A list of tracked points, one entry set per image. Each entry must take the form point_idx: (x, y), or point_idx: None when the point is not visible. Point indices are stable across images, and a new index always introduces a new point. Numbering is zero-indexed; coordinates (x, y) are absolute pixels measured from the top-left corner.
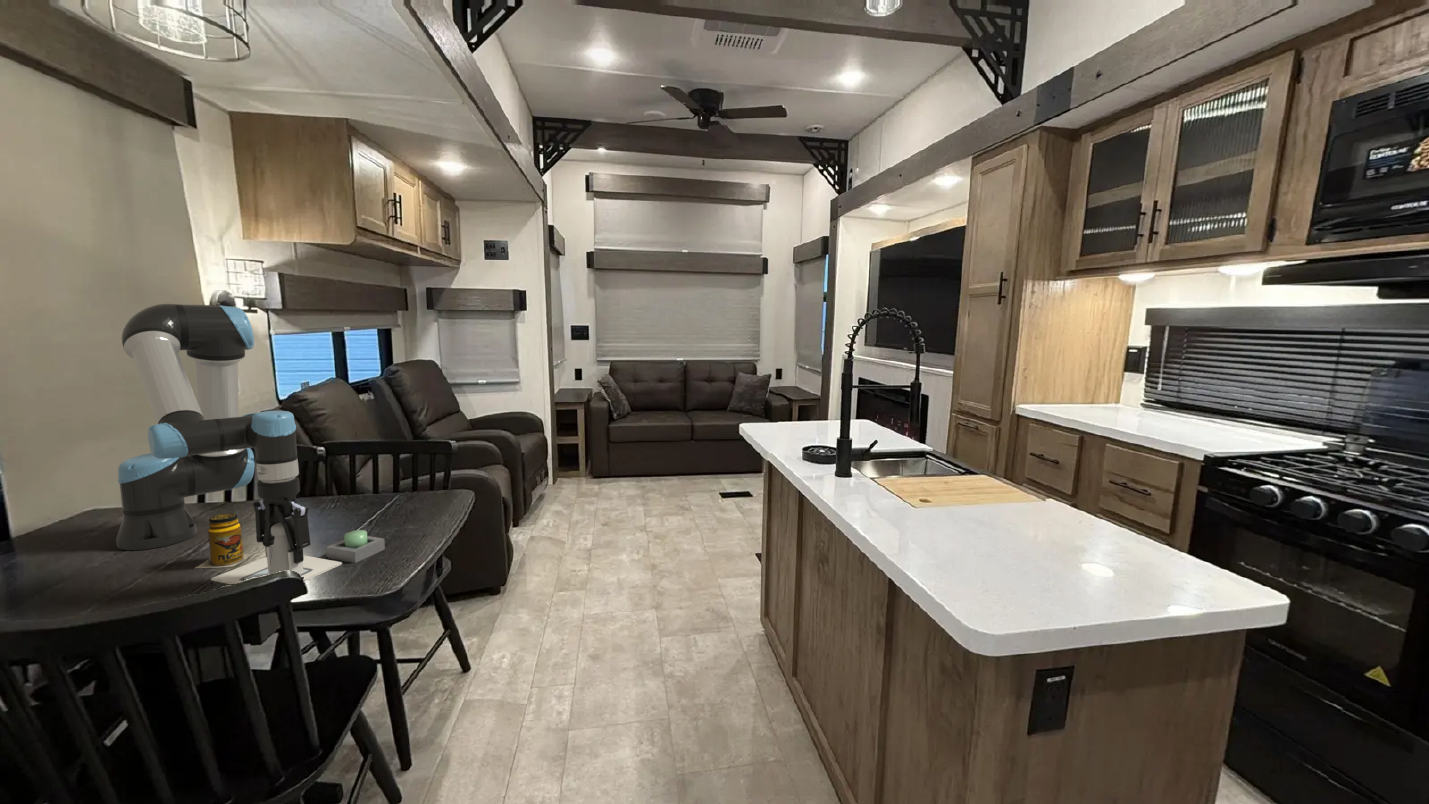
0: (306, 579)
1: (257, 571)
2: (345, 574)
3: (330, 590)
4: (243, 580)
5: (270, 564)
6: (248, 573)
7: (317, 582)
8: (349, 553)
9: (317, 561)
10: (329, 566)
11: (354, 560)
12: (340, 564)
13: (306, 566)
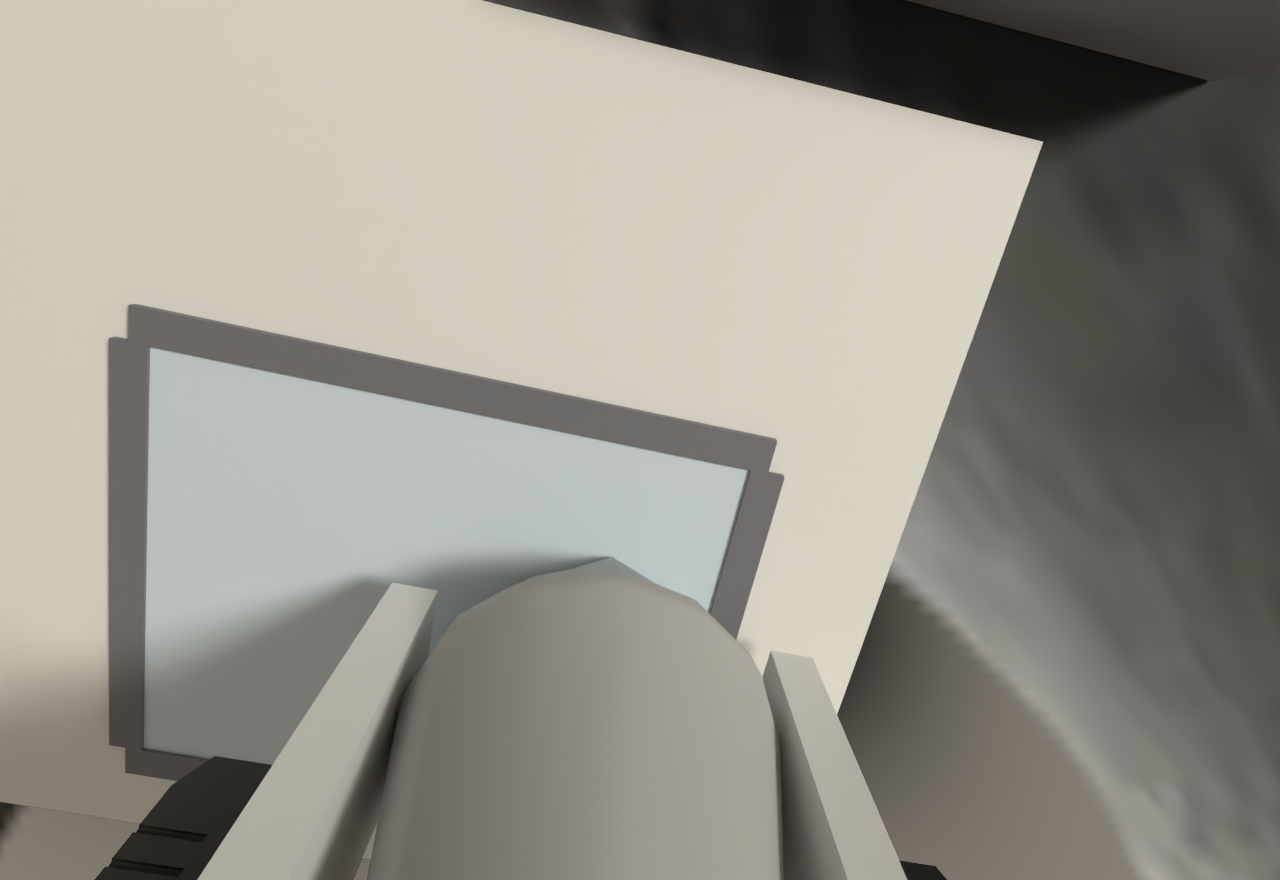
0: (854, 650)
1: (113, 584)
2: (1226, 447)
3: (1235, 791)
4: None
5: (371, 823)
6: (51, 623)
7: (999, 662)
8: (1239, 10)
9: (636, 158)
10: (934, 309)
11: (1234, 68)
12: (1016, 172)
13: (606, 351)
